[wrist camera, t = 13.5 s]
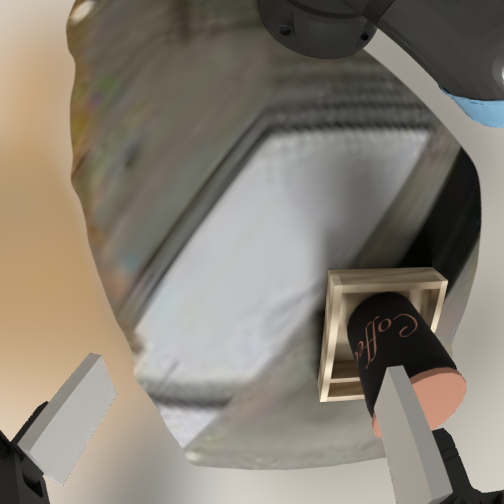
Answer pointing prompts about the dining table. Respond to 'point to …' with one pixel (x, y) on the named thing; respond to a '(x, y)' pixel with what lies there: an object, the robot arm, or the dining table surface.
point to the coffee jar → (403, 356)
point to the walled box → (345, 302)
